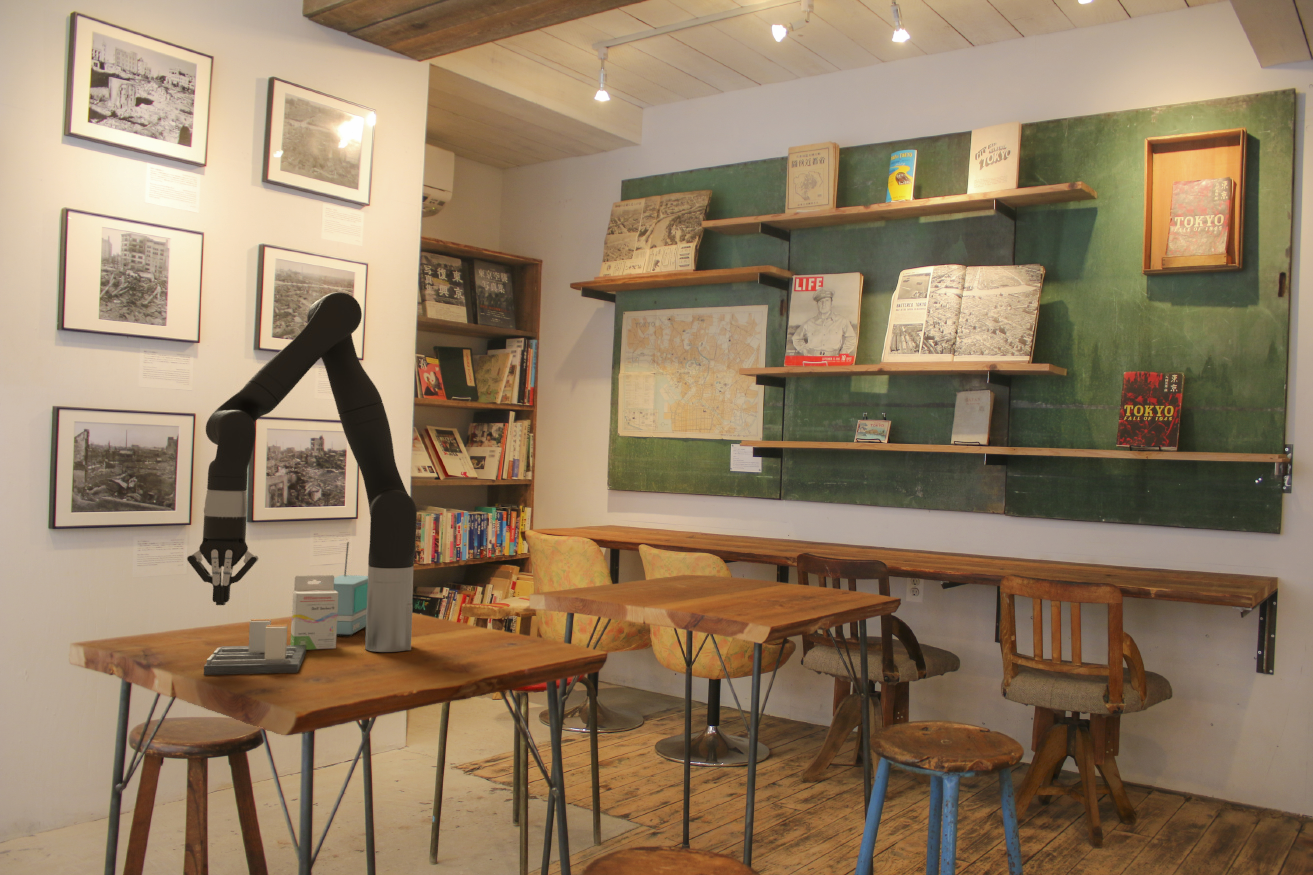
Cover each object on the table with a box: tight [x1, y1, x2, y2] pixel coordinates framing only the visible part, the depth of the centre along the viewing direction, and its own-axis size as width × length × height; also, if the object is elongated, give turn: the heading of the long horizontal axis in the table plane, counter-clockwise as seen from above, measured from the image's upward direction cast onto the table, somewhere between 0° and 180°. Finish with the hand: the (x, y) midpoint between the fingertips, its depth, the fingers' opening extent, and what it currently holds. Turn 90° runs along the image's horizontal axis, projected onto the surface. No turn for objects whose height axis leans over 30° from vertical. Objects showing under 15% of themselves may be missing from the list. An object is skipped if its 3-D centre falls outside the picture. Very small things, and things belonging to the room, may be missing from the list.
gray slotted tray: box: [203, 644, 307, 676], centre depth 192 cm, size 16×19×2 cm
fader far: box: [248, 618, 272, 652], centre depth 194 cm, size 4×3×6 cm
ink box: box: [289, 574, 338, 651], centre depth 210 cm, size 9×5×15 cm, turn 117°
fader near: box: [265, 624, 288, 659], centre depth 188 cm, size 4×3×6 cm
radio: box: [318, 541, 368, 638], centre depth 230 cm, size 16×9×20 cm, turn 179°
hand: (220, 604), depth 192 cm, fingers closed
